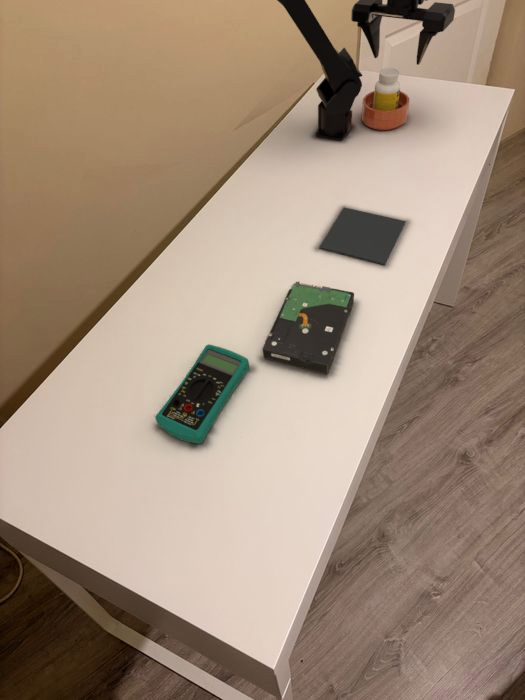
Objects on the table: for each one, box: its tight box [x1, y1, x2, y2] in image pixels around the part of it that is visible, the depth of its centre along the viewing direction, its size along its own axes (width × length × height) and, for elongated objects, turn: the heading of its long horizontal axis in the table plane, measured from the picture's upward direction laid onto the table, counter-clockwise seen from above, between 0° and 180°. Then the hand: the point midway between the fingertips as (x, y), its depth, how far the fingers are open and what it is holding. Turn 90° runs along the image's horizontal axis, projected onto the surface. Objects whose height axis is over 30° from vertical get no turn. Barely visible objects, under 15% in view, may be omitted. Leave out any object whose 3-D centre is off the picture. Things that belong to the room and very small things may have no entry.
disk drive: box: [262, 281, 355, 375], centre depth 76 cm, size 10×3×15 cm
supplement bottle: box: [373, 67, 401, 111], centre depth 108 cm, size 5×5×10 cm
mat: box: [318, 206, 406, 266], centre depth 89 cm, size 12×12×1 cm
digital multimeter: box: [154, 344, 250, 445], centre depth 70 cm, size 7×15×3 cm, turn 152°
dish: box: [361, 90, 410, 131], centre depth 110 cm, size 10×10×4 cm
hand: (397, 60), depth 101 cm, fingers open, 9 cm apart
